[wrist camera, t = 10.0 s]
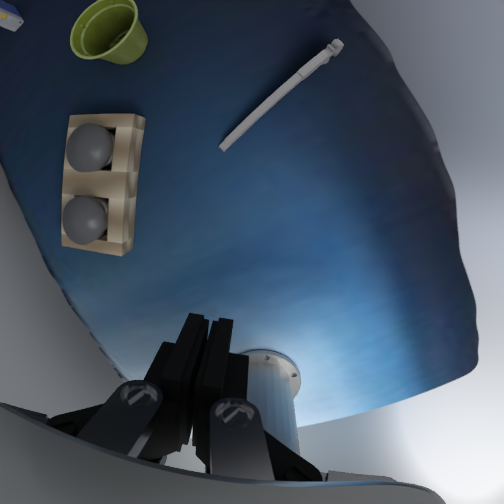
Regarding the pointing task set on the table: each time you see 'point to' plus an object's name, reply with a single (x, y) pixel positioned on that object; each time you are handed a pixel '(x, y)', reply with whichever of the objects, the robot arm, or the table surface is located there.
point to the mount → (109, 181)
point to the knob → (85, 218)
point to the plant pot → (109, 32)
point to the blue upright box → (9, 17)
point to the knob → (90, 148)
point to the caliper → (283, 91)
